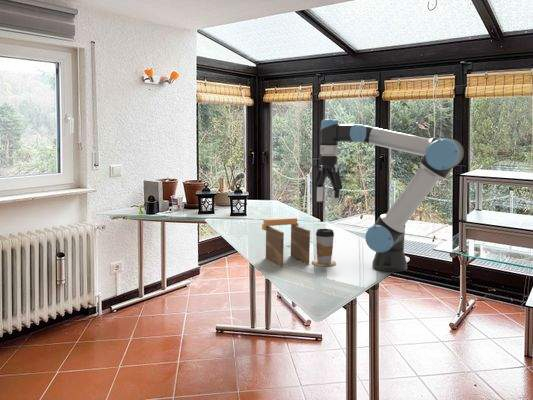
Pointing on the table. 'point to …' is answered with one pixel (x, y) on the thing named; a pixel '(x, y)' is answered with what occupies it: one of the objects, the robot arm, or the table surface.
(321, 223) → the table surface
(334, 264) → the coaster
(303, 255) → the cradle
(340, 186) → the robot arm
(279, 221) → the orange notched bar
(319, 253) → the coffee cup
